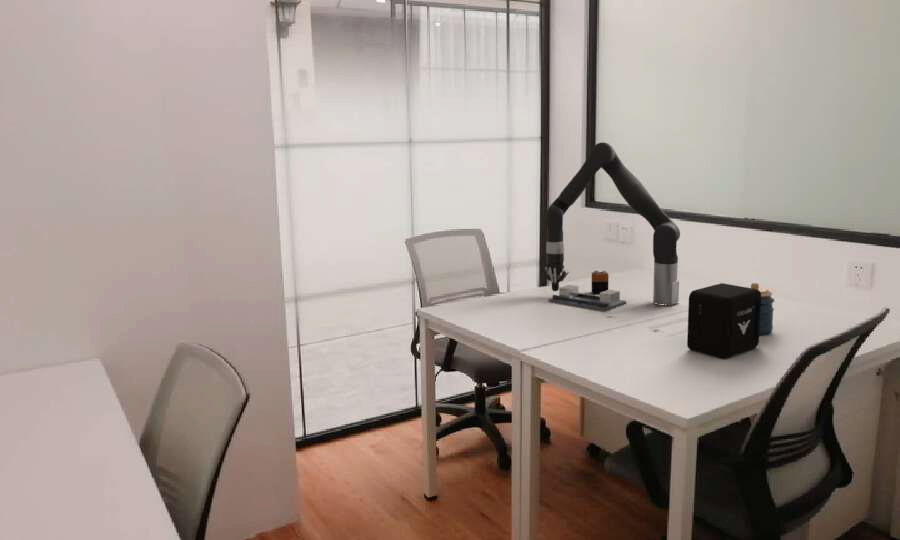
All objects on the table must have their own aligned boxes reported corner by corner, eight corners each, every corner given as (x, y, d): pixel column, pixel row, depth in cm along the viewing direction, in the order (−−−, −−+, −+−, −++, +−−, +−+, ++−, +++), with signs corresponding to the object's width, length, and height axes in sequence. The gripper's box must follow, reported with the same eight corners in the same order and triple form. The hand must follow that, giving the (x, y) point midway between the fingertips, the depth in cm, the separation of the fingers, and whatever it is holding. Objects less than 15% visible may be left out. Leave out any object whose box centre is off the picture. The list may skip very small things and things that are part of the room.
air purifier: (725, 361, 226) (728, 299, 222) (686, 350, 237) (688, 291, 233) (762, 348, 237) (765, 289, 233) (722, 338, 249) (725, 282, 245)
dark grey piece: (626, 303, 300) (626, 289, 298) (605, 311, 288) (605, 296, 287) (569, 294, 319) (569, 280, 317) (548, 301, 307) (548, 287, 306)
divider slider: (578, 295, 310) (578, 286, 309) (564, 299, 303) (564, 290, 302) (568, 293, 313) (568, 284, 313) (555, 298, 306) (555, 289, 306)
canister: (769, 338, 248) (772, 288, 244) (729, 333, 254) (731, 284, 251) (774, 328, 258) (777, 280, 255) (736, 324, 265) (738, 277, 262)
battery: (591, 292, 322) (591, 270, 320) (606, 291, 322) (606, 269, 320) (592, 294, 318) (593, 272, 316) (608, 294, 317) (608, 271, 315)
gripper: (572, 251, 309) (572, 291, 312) (547, 248, 318) (548, 287, 321) (562, 254, 303) (562, 294, 307) (537, 251, 312) (537, 290, 316)
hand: (555, 290), depth 314 cm, fingers closed
